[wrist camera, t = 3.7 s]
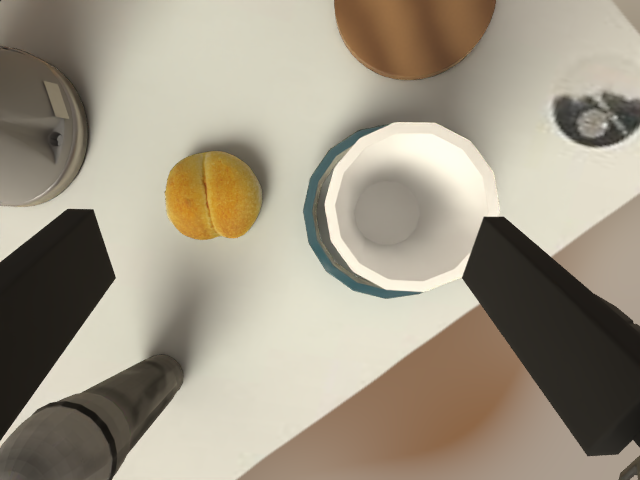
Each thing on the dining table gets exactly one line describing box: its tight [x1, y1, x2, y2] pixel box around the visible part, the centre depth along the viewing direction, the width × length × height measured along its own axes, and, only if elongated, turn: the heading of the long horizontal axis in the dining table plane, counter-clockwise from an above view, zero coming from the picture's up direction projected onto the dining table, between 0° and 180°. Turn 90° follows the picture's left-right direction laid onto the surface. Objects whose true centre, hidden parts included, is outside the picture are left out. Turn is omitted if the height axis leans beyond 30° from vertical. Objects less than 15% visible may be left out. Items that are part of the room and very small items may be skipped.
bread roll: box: [165, 151, 262, 240], centre depth 31 cm, size 8×9×4 cm
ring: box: [303, 124, 423, 299], centre depth 30 cm, size 15×15×3 cm
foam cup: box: [324, 122, 500, 292], centre depth 25 cm, size 10×9×13 cm
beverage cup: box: [0, 354, 183, 480], centre depth 24 cm, size 7×7×20 cm
